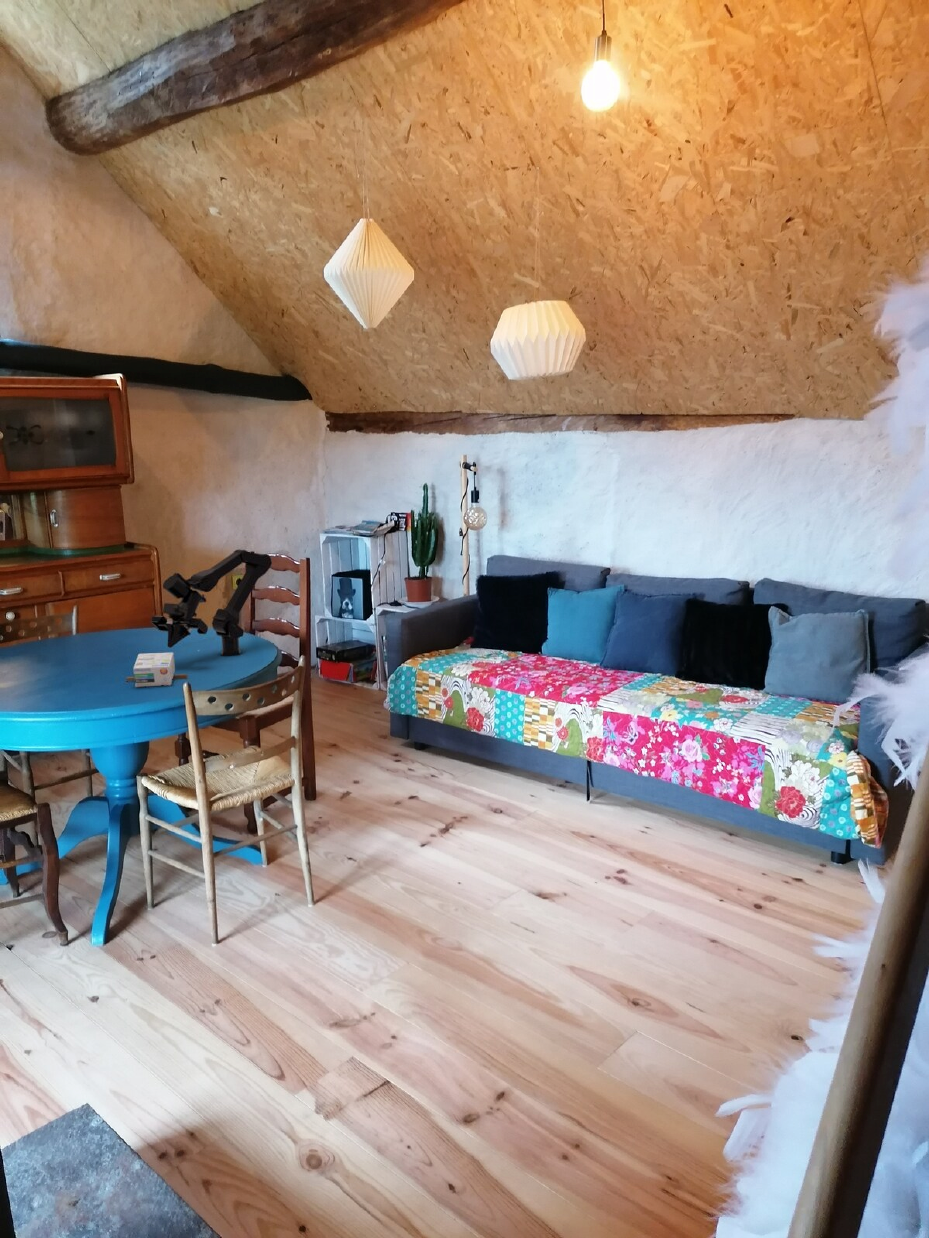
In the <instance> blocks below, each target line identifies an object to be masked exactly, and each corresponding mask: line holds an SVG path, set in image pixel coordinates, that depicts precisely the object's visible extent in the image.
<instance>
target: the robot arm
mask: <svg viewBox="0 0 929 1238" xmlns="http://www.w3.org/2000/svg"><path fill="white" fill-rule="evenodd" d="M272 562H273V561H272V558H271V556H270V555H269V554H267V553H258V552H251V551H248V550H245V549H236V550H233V552H232V553H231V554H229V555H228V556H227V557H225V558H224V559H222V560H220V561H219V562H218V563H216V564H214V565H213V566H211V567H210V568H208V569H204V570H201V571H199V572H196V573H193V574H192V575H191V577H190V578H188V579H186V578H184V576H182V575H181V573H179V572H174V573H173V575H170V576H169V577H168V578H167V579H165V580H164V581H163V584H162V588H163V590H165V591H166V592H167V593H168V594H170V595H171V596H172V597H174V598H175V599H177V600H178V599H181V600H180V602H178V603H170V602H169V603H168V602H164V603H163V607H162V613H163V614H166V615H168V618H169V619H168V618H166V617H165V615H153V616H152V618H151V619H150V623H151V624H152V625H153V626H154V628H156V629H157V630H158V631H160V632H167V647H168V648H172V647H174V646H175V645H176V644H178V643H180V641H181V640H183V639H184V638H186V637H187V636H191V635H192V633H191V631H192V630H193V629H197V630H196V632H197V633H198V634H199V635H206V634H207V633H208V630H209V628H208V625H207V624H206V622H205V621H204V620H203V619H202V618H197V615H198V614H197V612H196V611H197V609H198V607H199V605H200V604H202V603H207V598H206V596H205V594H202V593H209V592H211V591H213V589H214V588H215V587H216V586H217V585H218V583H219V581H220V580H221V579H222V578H223V577H225V576H226V575H227V574H229V573H230V572H231V571H233V570H234V569H236V568H237V567H239V566H240V565H241V564H243V563H244V564H245V567H244V568H245V572H244V574H243V576H242V578H241V580H240V581H239V583H238V585H237V587H236V589H235V591H234V592H233V595H232V596H231V597H230V599H229V602H228V603H227V605H226V606H225V607H224V608H218V609H217V610H216V612H215V614H214V615H213V616H212V622H211V626H212V629H213V630H214V631H215V634H216V636H218V637H221V647H222V648H221V652H220V656H233V655H234V656H237V655H240V654H241V652H242V649H241V648H240V640H239V638H240V637H244V632H245V630H244V629H243V628H241V626H240V625H239V623H240V613H241V611H242V609H243V608H244V605H245V604H246V602H247V600H248V599H249V596H250V595H251V593H252V591H253V589H254V588H255V585H256V583H257V582H258V580H259V579H260V578H262V577H263V576H264V575H266V574H267V573H268V571H269V569H271V567H272V566H273V563H272ZM200 592H202V593H200Z"/></svg>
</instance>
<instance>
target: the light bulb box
mask: <svg viewBox="0 0 929 1238" xmlns="http://www.w3.org/2000/svg"><path fill="white" fill-rule="evenodd" d="M174 655H175V654H174V652H156V653H155V652H152V653H138V655H137V658H136V661H135V662H134V663H135V664H134V666H133V669H132V670H133V675H134V676H133V677H135V682H134V684H135V688H144V687H145V686H146V687H157V686H158V687H159V686H160V687H161V685H164V686H171V685H172V683H173V680H174V679H173V675H174V674H175V670H176V667H175V666H176V665H175V656H174ZM172 679H173V680H172Z"/></svg>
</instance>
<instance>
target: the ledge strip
mask: <svg viewBox="0 0 929 1238" xmlns="http://www.w3.org/2000/svg"><path fill="white" fill-rule="evenodd" d="M188 677H189V675H188V673H178V674H177V673H176V674H175V673H174V675H173V680H187V679H188ZM126 681H135V677H134V676H126V678H125V682H126Z"/></svg>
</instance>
